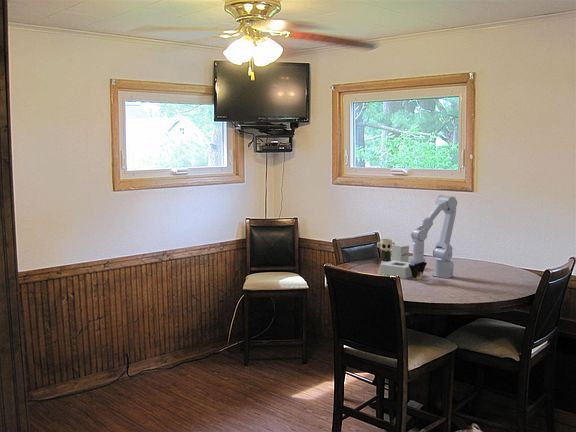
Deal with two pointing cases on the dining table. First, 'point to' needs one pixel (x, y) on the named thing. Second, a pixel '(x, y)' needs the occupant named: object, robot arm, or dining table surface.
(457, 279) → the dining table surface
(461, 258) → the dining table surface
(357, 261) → the dining table surface
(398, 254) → the supplement box
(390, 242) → the character mug
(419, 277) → the wooden block
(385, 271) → the white square ring
